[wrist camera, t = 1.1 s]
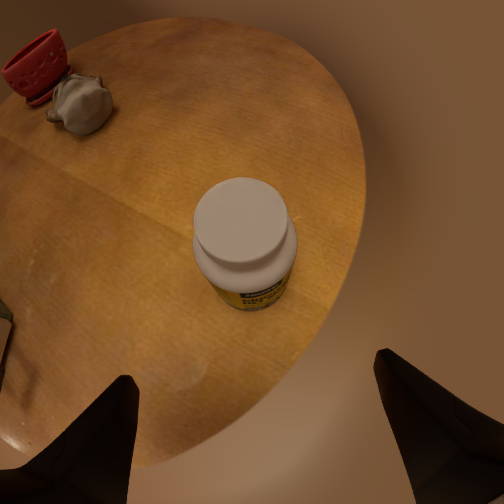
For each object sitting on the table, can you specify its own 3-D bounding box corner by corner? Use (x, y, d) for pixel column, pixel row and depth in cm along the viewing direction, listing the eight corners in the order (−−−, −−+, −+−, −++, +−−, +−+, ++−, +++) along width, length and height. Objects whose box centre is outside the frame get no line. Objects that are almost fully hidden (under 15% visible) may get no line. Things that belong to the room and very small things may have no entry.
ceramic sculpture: (40, 116, 22) (26, 90, 27) (75, 161, 30) (51, 125, 35) (114, 59, 24) (81, 48, 29) (137, 109, 32) (100, 85, 37)
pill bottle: (251, 328, 23) (237, 308, 12) (200, 276, 24) (153, 219, 14) (303, 275, 24) (329, 215, 14) (251, 228, 26) (241, 146, 15)
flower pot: (88, 71, 39) (65, 26, 27) (36, 118, 35) (4, 76, 24) (66, 64, 42) (46, 27, 30) (22, 104, 39) (-4, 69, 27)
